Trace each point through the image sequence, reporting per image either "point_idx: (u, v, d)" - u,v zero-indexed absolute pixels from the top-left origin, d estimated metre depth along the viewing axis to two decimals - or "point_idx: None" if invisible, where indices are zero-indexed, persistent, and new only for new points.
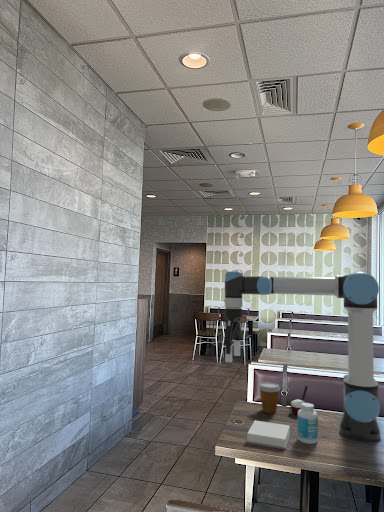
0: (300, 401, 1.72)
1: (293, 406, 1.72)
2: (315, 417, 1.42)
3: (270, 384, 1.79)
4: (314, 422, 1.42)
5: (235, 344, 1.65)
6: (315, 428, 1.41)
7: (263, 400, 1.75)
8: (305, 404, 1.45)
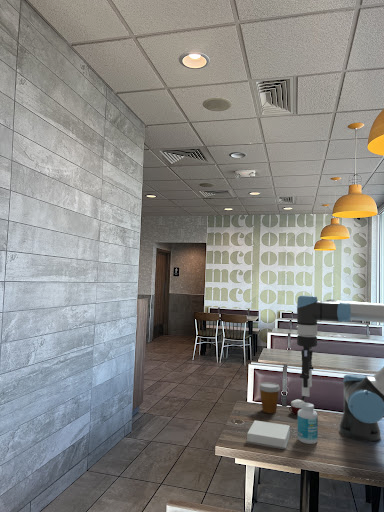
0: (300, 401, 1.72)
1: (293, 406, 1.72)
2: (315, 417, 1.42)
3: (270, 384, 1.79)
4: (314, 422, 1.42)
5: (306, 374, 1.52)
6: (315, 428, 1.41)
7: (263, 400, 1.75)
8: (305, 404, 1.45)
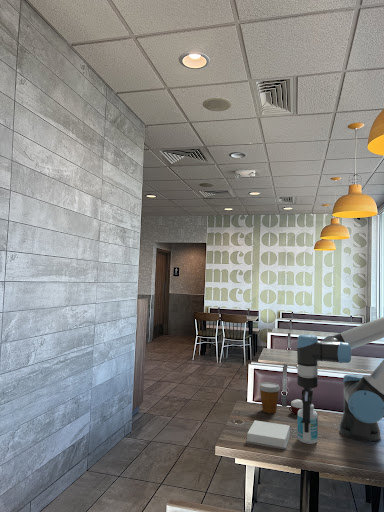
0: (300, 401, 1.72)
1: (293, 406, 1.72)
2: (315, 417, 1.42)
3: (270, 384, 1.79)
4: (314, 422, 1.42)
5: None
6: (315, 428, 1.41)
7: (263, 400, 1.75)
8: None
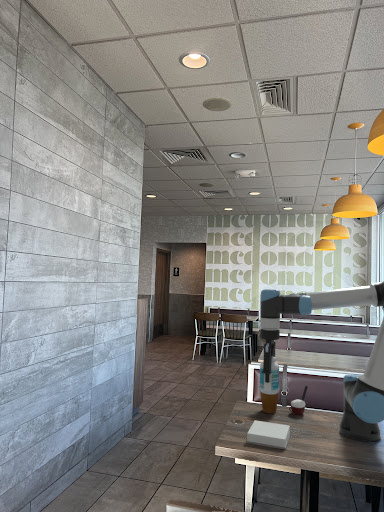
0: (300, 401, 1.72)
1: (293, 406, 1.72)
2: (276, 368, 1.44)
3: None
4: (275, 373, 1.44)
5: None
6: (275, 379, 1.44)
7: (263, 400, 1.75)
8: None
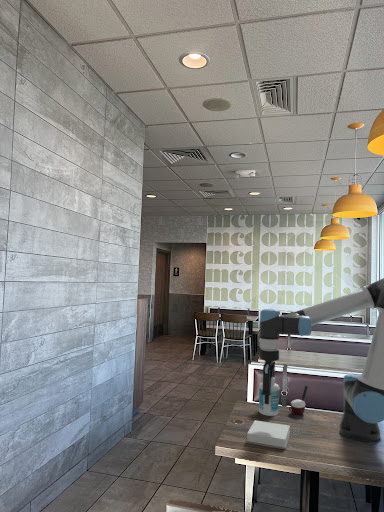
0: (300, 401, 1.72)
1: (293, 406, 1.72)
2: (276, 389, 1.44)
3: None
4: (275, 394, 1.43)
5: None
6: (275, 400, 1.43)
7: None
8: None
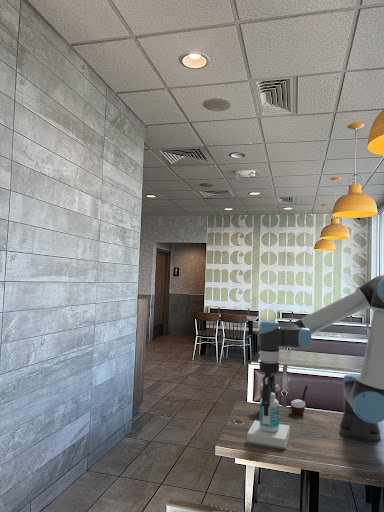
0: (300, 401, 1.72)
1: (293, 406, 1.72)
2: (276, 405, 1.44)
3: None
4: (275, 410, 1.43)
5: None
6: (275, 416, 1.43)
7: None
8: None
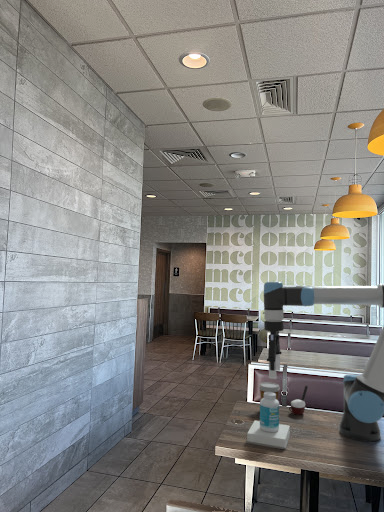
0: (300, 401, 1.72)
1: (293, 406, 1.72)
2: (276, 406, 1.44)
3: (270, 384, 1.79)
4: (276, 411, 1.43)
5: None
6: (276, 417, 1.43)
7: None
8: (267, 393, 1.47)
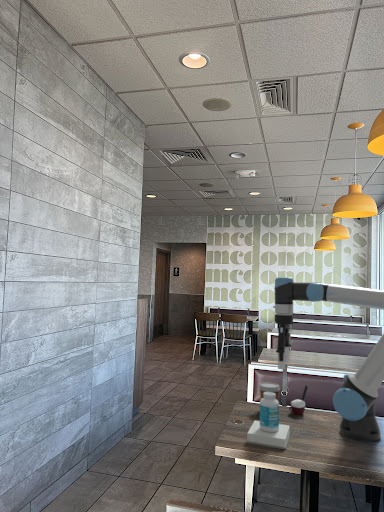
0: (300, 401, 1.72)
1: (293, 406, 1.72)
2: (276, 405, 1.44)
3: (270, 384, 1.79)
4: (276, 410, 1.43)
5: (284, 350, 1.63)
6: (276, 416, 1.43)
7: None
8: (267, 393, 1.47)
